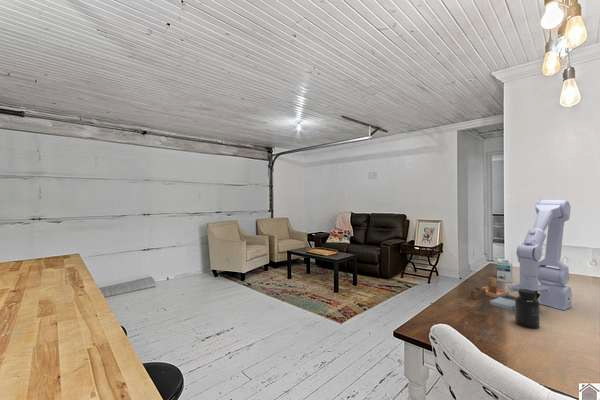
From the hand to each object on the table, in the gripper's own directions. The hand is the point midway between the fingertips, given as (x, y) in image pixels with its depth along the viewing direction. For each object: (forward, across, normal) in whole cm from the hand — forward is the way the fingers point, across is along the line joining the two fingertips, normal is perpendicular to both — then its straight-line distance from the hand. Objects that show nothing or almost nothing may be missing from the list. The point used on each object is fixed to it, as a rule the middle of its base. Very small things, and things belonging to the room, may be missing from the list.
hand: (528, 309), depth 112 cm
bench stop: (+1, +10, -16) cm, 19 cm away
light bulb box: (+1, -19, -44) cm, 48 cm away
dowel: (0, +2, -21) cm, 21 cm away
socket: (+1, -1, -13) cm, 13 cm away
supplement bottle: (+1, +8, +11) cm, 14 cm away
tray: (+1, +1, -21) cm, 21 cm away
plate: (+2, +4, -7) cm, 8 cm away
